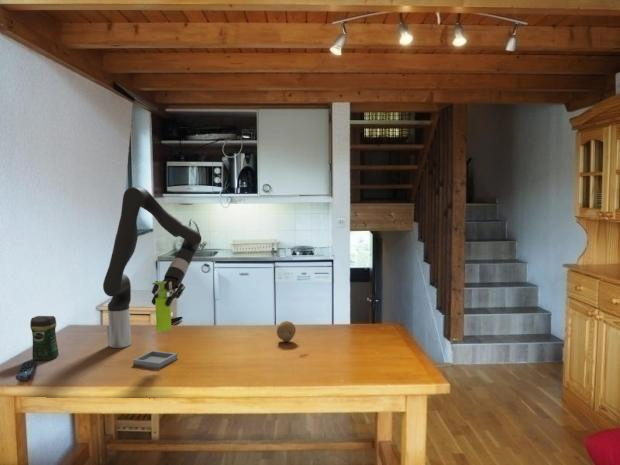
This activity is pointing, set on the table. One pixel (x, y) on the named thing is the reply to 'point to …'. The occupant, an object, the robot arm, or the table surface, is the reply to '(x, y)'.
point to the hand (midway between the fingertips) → (160, 304)
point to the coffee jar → (44, 338)
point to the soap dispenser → (162, 309)
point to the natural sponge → (286, 331)
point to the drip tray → (155, 359)
